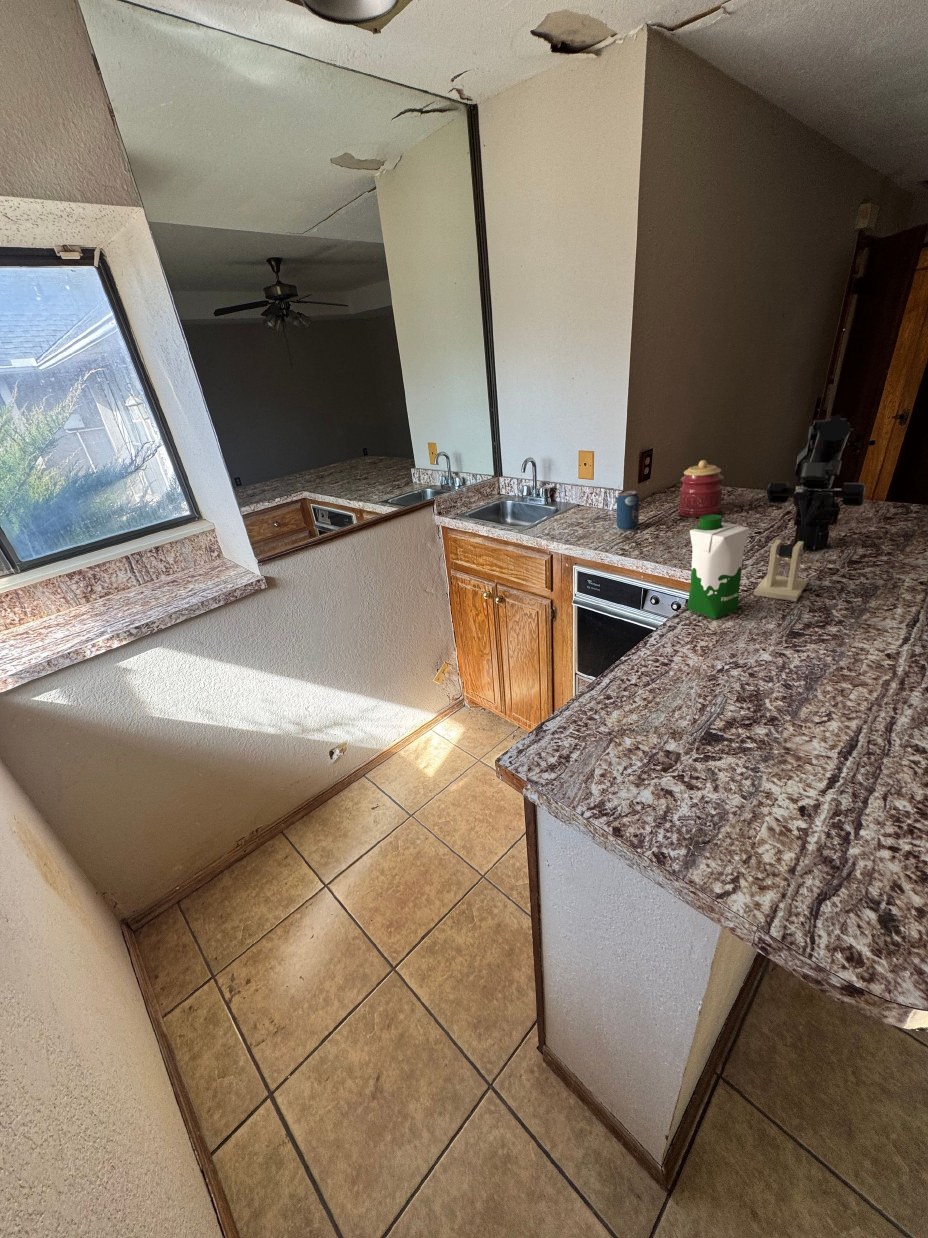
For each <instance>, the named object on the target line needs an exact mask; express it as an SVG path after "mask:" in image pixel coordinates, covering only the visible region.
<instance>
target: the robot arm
mask: <svg viewBox="0 0 928 1238" xmlns="http://www.w3.org/2000/svg"><path fill="white" fill-rule="evenodd" d="M853 434H854V428H852V426H851V425H850V422H848V421H847V418H846V417H843V418H842V416H841V415H840V414H839V415H830V416H829V418H828V419H817V420H814V421H813V424H812V425H809V428H808V435H807V443H806V446H805V448H804V449H802V450H801V452H800V453H799V454H798V455H797V458H796V464H795V469H794V477H796V481H797V483H799V485H798V486H797V485H796V486H795V487H790V484H789V481H772V482H770V483H769V484H768V485H767V488H766V495H767V499H768V502H769V503H772V504H784V503H787V501H789V498H790V497H791V498H792V500H793V506H794V507H795V510H794V514H793V526H794V527H796V529H795V535H794V541H793V542H790V543H789V544H788V545H792V546H793V547H794V546H795V545H796V544H797V542H798V541H802V542H804V544H803V549H802V550H804V551H808V552H814V551H818V550H821V549H824V548H827V547H830V545H831V544H830V543H828V541H829V536H830V530H829V528H830V526H832V527H835V525H837V523H838V519H839V515H840V512H841V509H842V507H841V506H840V503H839V501H837V498H838V499H842V500H841V503H842V504H843V505H844V506H845V507H847V506H849V507H850V506H851V507H861V506H863V504H864V500H865V497H866V485H865V484H864V482H843V484H842V487H841V488H832V485H833V482H834V479H835V477H838V476H839V475H840V471H841V467H842V463H843V461H842V459H841V457H842V453H843V450H844V449H845V446H846V444H847V441H848V439H849V438H850V436H853ZM810 453H812V454H811V456H810V459H809V458H808V459H806V458H807V457H808V456H809V455H810Z"/></svg>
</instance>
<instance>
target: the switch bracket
mask: <svg viewBox="0 0 928 1238" xmlns="http://www.w3.org/2000/svg"><path fill="white" fill-rule="evenodd" d="M782 542H783V540H782V539H776V540H775V541H774V542H773V544H771V546H770V547H769V560H768V566H767V567H768V568H767V574H766V575H765V576H764V578H763V579H762V580H761V581H760V583H759V584H758V585H757V586H756V587H755V589H754V591H753V596H759V597H765V598H771V599H777V600H779V599H780V600H785V601H792V602H797V601H798V599H799V598H800V596H801V594H802V593H803V591H804V590H805V588H806V587H807V584H808V579H806V578H799V573H800V566H801V562H802V560H801V556H802V557H803V556H804V553H805V552H804V551H805V550H804V549H803V544H804V542H802V541H798V542H797V544H796V545H795V546H794V548H793V553H792V559H791V566H790V567H789V572H788V576H781V575H778V569H779V562H780V557H779V556H778V554H779V550H780V546H781V545H782ZM800 561H801V562H800Z"/></svg>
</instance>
